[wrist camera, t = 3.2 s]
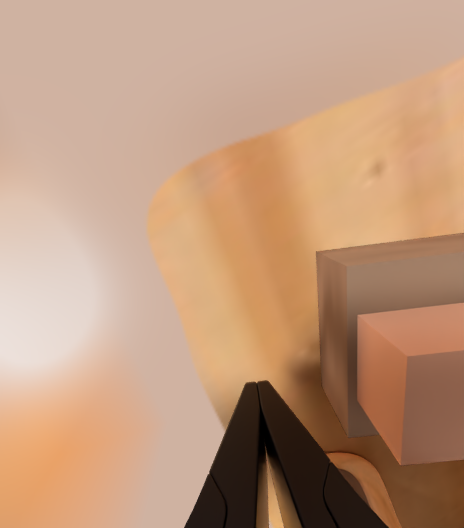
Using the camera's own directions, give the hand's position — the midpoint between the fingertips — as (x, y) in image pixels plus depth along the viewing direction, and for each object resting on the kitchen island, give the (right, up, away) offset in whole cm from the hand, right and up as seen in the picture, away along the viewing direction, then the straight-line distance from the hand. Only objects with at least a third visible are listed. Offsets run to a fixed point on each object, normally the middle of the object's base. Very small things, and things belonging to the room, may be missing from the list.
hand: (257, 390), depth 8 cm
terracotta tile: (+6, +1, +1) cm, 6 cm away
